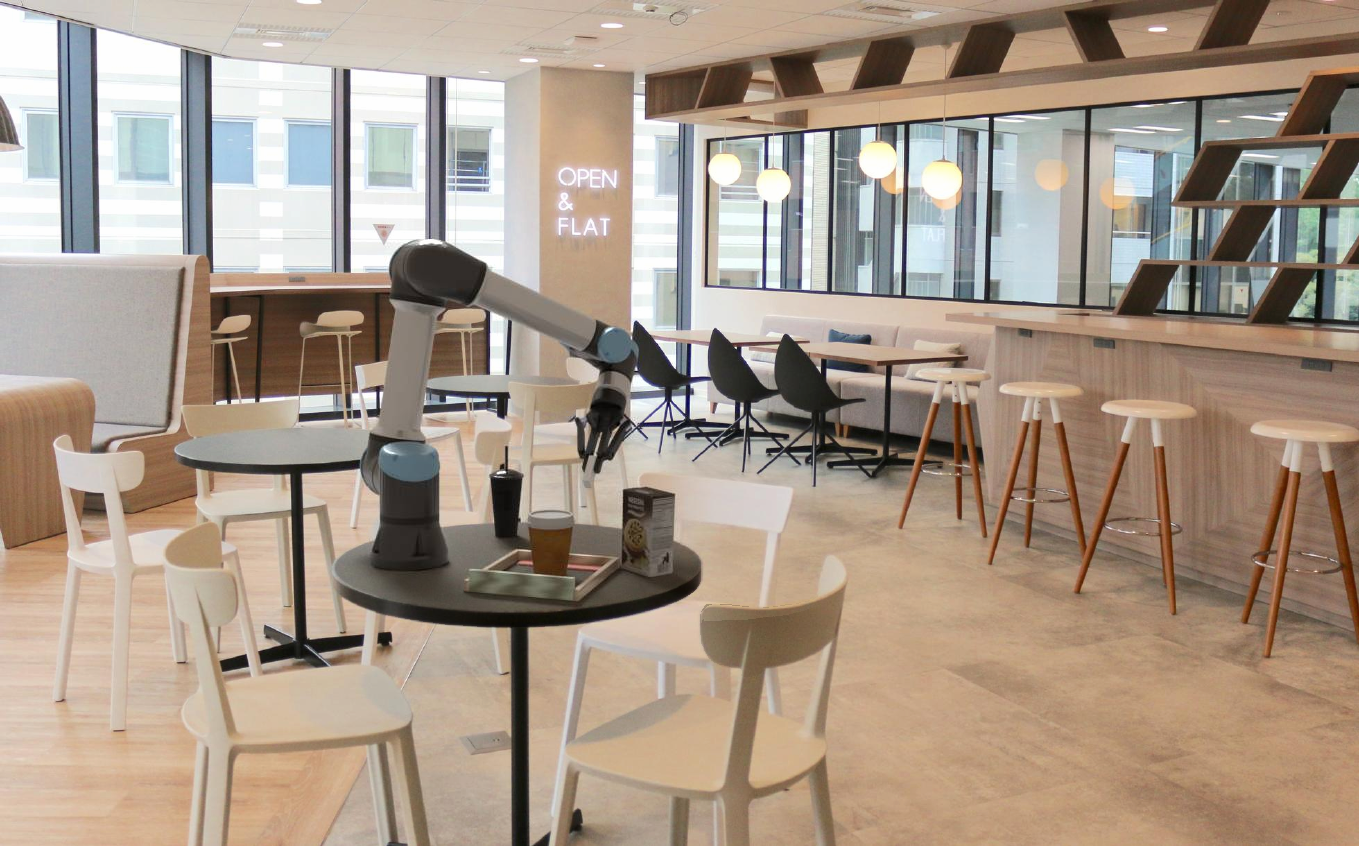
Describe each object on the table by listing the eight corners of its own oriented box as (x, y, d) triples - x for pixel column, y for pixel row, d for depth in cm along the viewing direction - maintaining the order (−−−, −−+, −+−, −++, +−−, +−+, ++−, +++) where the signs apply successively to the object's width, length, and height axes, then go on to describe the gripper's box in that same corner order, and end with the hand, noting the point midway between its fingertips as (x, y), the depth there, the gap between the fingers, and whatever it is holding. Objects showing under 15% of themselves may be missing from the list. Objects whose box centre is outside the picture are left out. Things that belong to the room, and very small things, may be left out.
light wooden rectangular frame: (463, 590, 216) (463, 569, 215) (515, 558, 241) (515, 539, 241) (578, 601, 211) (578, 579, 210) (619, 567, 236) (619, 547, 236)
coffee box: (619, 568, 235) (621, 488, 233) (644, 564, 239) (646, 485, 237) (649, 578, 228) (650, 495, 226) (674, 573, 232) (676, 492, 230)
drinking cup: (530, 534, 264) (531, 445, 261) (508, 540, 257) (508, 449, 255) (504, 530, 268) (504, 442, 265) (481, 535, 261) (481, 446, 259)
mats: (516, 564, 236) (516, 563, 236) (523, 560, 240) (523, 559, 240) (603, 571, 232) (603, 570, 232) (608, 567, 236) (608, 566, 235)
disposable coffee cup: (576, 569, 234) (576, 509, 232) (573, 581, 224) (574, 519, 223) (527, 568, 233) (528, 508, 232) (523, 580, 224) (523, 518, 222)
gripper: (641, 409, 263) (620, 496, 249) (585, 406, 266) (561, 492, 252) (635, 387, 257) (613, 475, 243) (578, 385, 260) (553, 472, 246)
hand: (587, 484), depth 247 cm, fingers closed
